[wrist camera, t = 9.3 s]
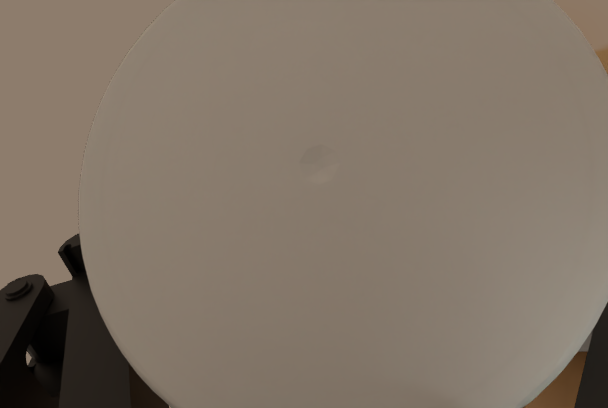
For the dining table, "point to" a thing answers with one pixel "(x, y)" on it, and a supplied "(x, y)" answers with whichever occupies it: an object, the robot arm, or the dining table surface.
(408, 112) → the supplement tub
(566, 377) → the dining table surface
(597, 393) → the robot arm
